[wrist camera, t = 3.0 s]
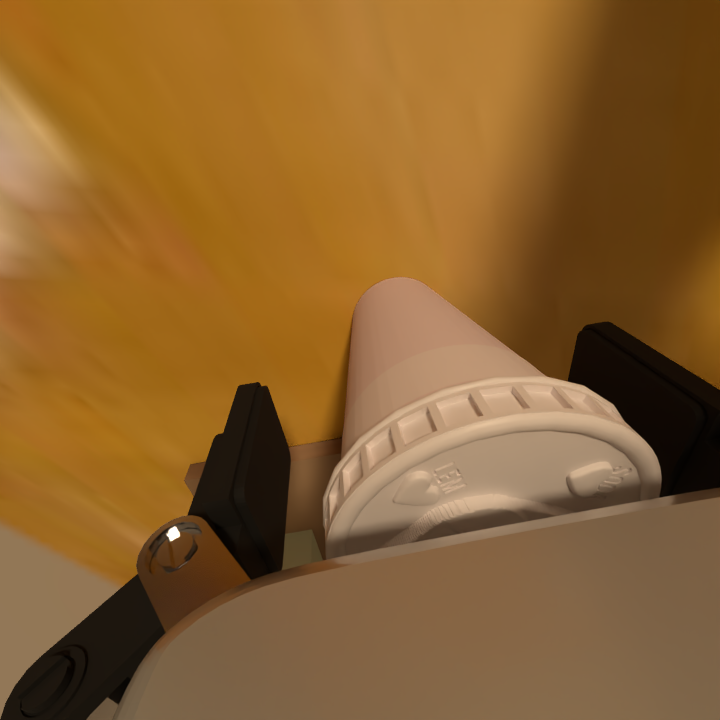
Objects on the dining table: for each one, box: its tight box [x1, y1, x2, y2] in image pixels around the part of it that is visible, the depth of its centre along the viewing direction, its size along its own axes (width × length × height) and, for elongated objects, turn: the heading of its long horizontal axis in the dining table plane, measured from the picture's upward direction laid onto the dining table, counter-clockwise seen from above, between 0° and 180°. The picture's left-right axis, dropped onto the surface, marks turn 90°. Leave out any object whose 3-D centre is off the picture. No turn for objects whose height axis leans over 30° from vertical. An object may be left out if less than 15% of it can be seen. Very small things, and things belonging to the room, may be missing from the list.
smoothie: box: [323, 277, 662, 560], centre depth 9 cm, size 6×6×14 cm
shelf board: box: [184, 438, 342, 560], centre depth 22 cm, size 13×16×1 cm
